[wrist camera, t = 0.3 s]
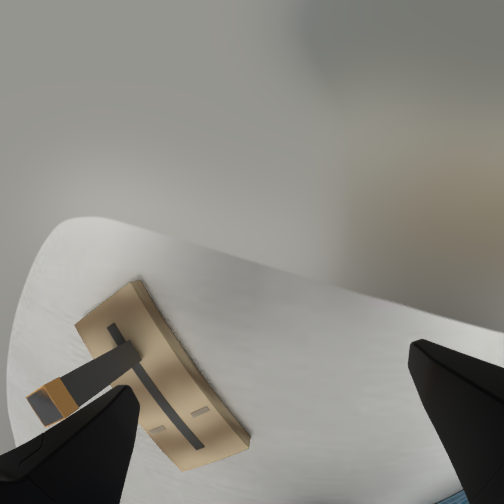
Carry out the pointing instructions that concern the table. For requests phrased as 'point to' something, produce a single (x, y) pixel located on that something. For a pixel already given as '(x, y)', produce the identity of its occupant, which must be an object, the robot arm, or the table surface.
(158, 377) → the fader track
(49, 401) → the fader tab
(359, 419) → the table surface
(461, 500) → the gum box
